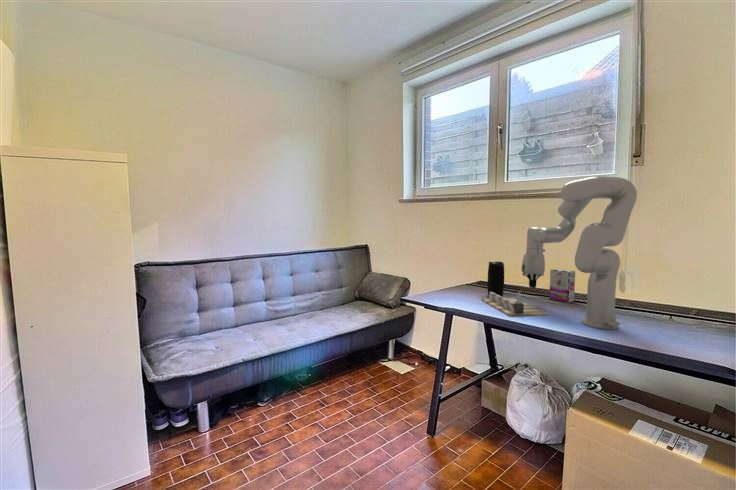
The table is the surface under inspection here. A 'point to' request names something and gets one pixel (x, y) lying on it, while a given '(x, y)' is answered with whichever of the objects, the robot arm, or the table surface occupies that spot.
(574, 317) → the table surface
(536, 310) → the tongs board
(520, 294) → the tongs arm
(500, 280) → the portable speaker
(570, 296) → the candy bar box
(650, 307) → the table surface
